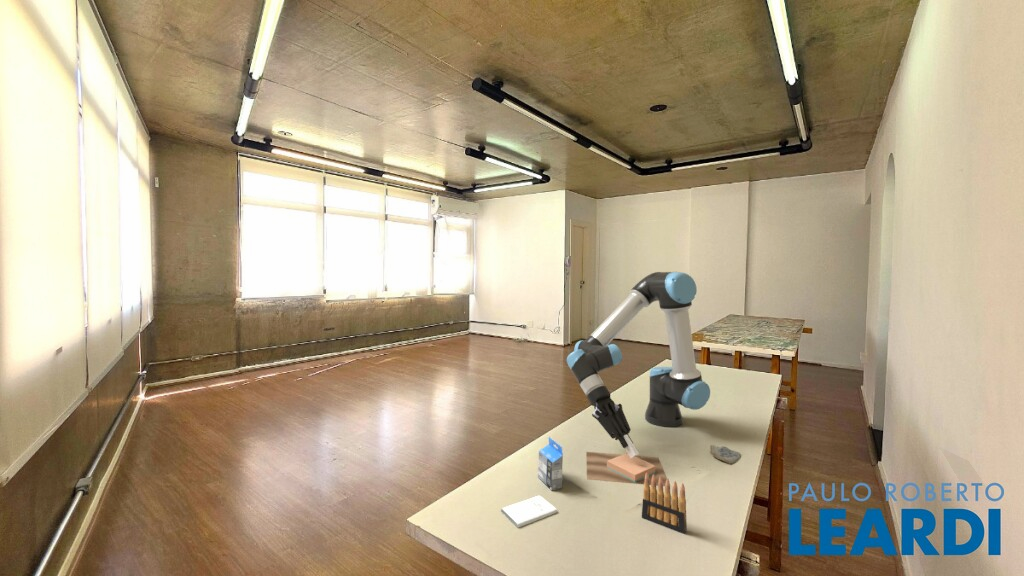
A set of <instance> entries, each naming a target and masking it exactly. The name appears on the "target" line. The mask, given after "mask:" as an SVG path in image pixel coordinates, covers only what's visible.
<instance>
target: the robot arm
mask: <svg viewBox="0 0 1024 576" xmlns="http://www.w3.org/2000/svg"><path fill="white" fill-rule="evenodd" d="M697 290H698V289H697V284H696V282H695V280H694V278H693V277H692V276H691V275H689V274H688V273H685V272H680V271H655V272H652V273H650V274H647V275H646V276H645V277H644V278H642V279H640V281H638V282H637V283H636V284H635V285H634V286H633V287H632V288H631V289H630V290H629V295H628V296H627V297H626V298H625V299H624V300H622V302H621V303H620V304H619V305H618V306H617V307H616V308H615V309H614V310H613V311H612V312H611V313H610V314H609V315H608V317H607V318H606V319H604V320H603V321H602V322H601V323H600V325H599V326H598V327H597V328H596V329H595V330H594V331H593V332H592V333H591V334H590V335H589V336H588V337H587V338H586V339H582V340H579V341H577V342H576V343H575V345H574V348H573V351H572V352H570V353H569V354H568V355H567V357H566V363H567V365H568V367H569V368H570V371H571V372H572V374H573V376H574V378H575V379H576V381H577V382H578V384H579V386H580V388H581V390H582V391H583V393H584V394H585V395H586V398H587V400H588V402H589V403H590V405H591V406H593V407H594V408H593V409H594V411H593V413H592V414H591V415H592V417H593V418H594V419H595V420H597V421H598V423H599V424H600V425H601V426H602V427H603V429H604V430H605V432H606V433H607V434H608V435H609V437H610V438H611V439H614V440H615V441H618V442H619V443H620V445H621V446H622V448H623V449H625V451H626V453H628V455H629V456H630V458H633V457H635V456H639V454H640V453H639V451H638V450H637V448H636V447H635V445H634V441H633V440H632V438H631V436H630V435H629V433H630V432H631V427H630V425H629V423H628V419H627V417H626V415H625V413H624V410H623V405H622V403H615V401H614V400H613V399H612V398H611V393H610V391H609V390H608V388H607V386H605V383H604V381H603V380H602V378H601V376H600V375H599V372H601V371H604V370H607V369H609V368H612V367H615V366H616V365H618V364H620V363H621V362H622V360H623V354H622V352H621V349H620V348H619V347H618V345H616V344H614V343H611V342H612V341H613V339H615V338H616V337H617V335H619V333H620V332H622V330H623V329H625V327H626V326H627V325H629V323H630V322H631V321H632V320H633V319H634V318H635V317H636V316H637V315H638V314H639V313H640V311H642V310H643V308H648V307H649V306H650V305H651V304H652V303H654V302H658V303H659V304H658V305H659V309H660V310H661V311H663V312H664V316H665V317H664V318H665V323H666V331H667V338H668V344H669V351H670V352H669V353H670V359H671V366H655V367H652V368H651V369H650V371H649V376H648V377H649V401H648V405H647V407H646V409H645V413H644V419H645V421H646V422H648V423H650V424H653V425H656V426H660V427H665V428H666V427H667V428H672V427H673V428H674V427H675V428H676V427H679V426H681V425H683V421H684V420H683V419H684V418H683V415H682V411H681V409H680V408H681V407H680V406H682V407H684V408H686V409H689V410H693V411H694V410H695V411H696V410H700V409H701V408H703V407H705V406H706V404H707V403H708V402H709V400H710V397H711V388H710V386H709V384H708V383H706V381H704V380H703V377H702V373H701V371H700V370H699V368H698V369H697V365H696V358H695V357H696V356H695V350H694V344H693V341H694V340H693V334H692V328H691V327H692V326H691V320H690V319H691V318H690V314H689V313H690V312H689V309H690V308H691V307H692V306H693V304H692V303H693V300H695V298H696V296H697ZM610 343H611V344H610ZM679 405H680V406H679Z"/></svg>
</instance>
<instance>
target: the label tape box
mask: <svg viewBox="0 0 1024 576" xmlns="http://www.w3.org/2000/svg"><path fill="white" fill-rule="evenodd" d="M563 455H564V453H563V447H562V446H561V445H560V444H559V443H558V442H556V441H555V440H554V439H553V438H551V437H550V436H548V444H547V445H546V446H544V447H543V448H541V449H539V450H538V465H537V466H538V469H537V477H538V478H539V480H541V482H543V483H544V485H546V486H547V487H548V488H549V490H550V491H555V490H560V489H562V488H563V459H564V458H563V457H564V456H563Z"/></svg>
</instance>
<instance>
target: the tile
mask: <svg viewBox="0 0 1024 576" xmlns="http://www.w3.org/2000/svg"><path fill="white" fill-rule="evenodd" d="M607 468H609V469H611V470H613V471H614V472H616V473H618V474H620V475H622V476H624V477H626V478H628V479H630V480H632V481H634V482H636V481H639V480H641V479H643V478H645V475H646V473H647V472H648V475H649V476H650V475H652V474H654V473H656V466H655V465H653V464H650V463H648V462H646V461H644V460H642V459H640V458H637V457H633V458H630V456H629V455H628V453H627V452H626V453H624V454H622V455H621V456H618V457H615V458H613V459H610V460H608V461H607Z"/></svg>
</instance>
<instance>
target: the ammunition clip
mask: <svg viewBox="0 0 1024 576" xmlns="http://www.w3.org/2000/svg"><path fill="white" fill-rule="evenodd" d="M642 489H643V492H642V493H643V495H642V496H643V497H642V505H641V507H642V508H641V518H642V519H643V520H646V521H649V522H651V523H654V524H657V525H659V526H661V527H665V528H667V529H670V530H673V531H675V532H677V533H680V534H683V535H686V534H687V533H686V532H687V529H688V528H687V500H686V488H685V484H684V483H683V482H682V483H681V485H680V489H679V488H678V484H677V482H676V480H674V481H673V484H672V491H671V483H670V480H669V478H667V480H666V484H665V486H663V481H662V477H661V476H660V478H659V482H658V486H656V478H655V475H654V474H653V476H652V480H651V485H649V475H648V472H647V473H646V475H645V482H644V484H643V488H642ZM678 489H679V491H678ZM678 492H679V494H678Z"/></svg>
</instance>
